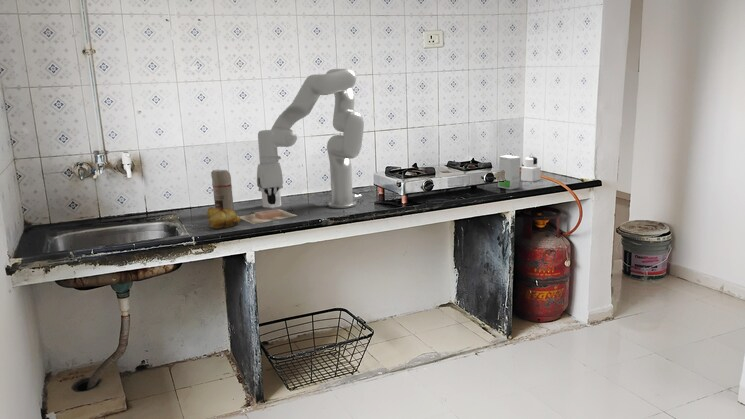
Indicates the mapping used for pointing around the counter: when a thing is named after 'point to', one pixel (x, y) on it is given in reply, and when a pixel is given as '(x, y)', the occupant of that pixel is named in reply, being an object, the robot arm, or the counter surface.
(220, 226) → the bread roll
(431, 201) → the counter surface
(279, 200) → the jar
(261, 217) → the tile
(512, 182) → the skincare box
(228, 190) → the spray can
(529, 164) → the medicine bottle
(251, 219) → the packaged sliced meat
